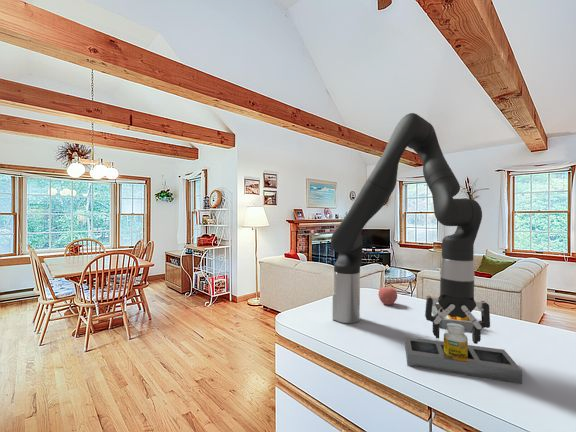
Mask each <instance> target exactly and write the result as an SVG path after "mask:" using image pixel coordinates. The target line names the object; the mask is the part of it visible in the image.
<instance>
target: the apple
mask: <svg viewBox="0 0 576 432" xmlns="http://www.w3.org/2000/svg"><path fill="white" fill-rule="evenodd" d="M378 298H379V301H380V302H381V303H382V304H384V305H386V306H391V305H393V304H395V302H396V301H397V299H398V293H397V291H396V289H395V288H393V287H390V286H388V285H386V286H382V287H381V288H380V289H378Z"/></svg>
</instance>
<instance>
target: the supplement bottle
mask: <svg viewBox="0 0 576 432" xmlns="http://www.w3.org/2000/svg"><path fill="white" fill-rule="evenodd" d="M465 332H466V331H465V328H464V326H462V325H460V324H456V323H448V324H447V329H446V331H444V333H443V342H444V354H445V355H447V356H454V357H461V358H468V345H469V343H468V341H469V339H468V336H467V335H466V334H465Z"/></svg>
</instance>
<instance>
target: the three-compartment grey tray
mask: <svg viewBox="0 0 576 432" xmlns="http://www.w3.org/2000/svg"><path fill="white" fill-rule="evenodd" d="M404 350H405V356H406V364H407V367H408V366H409V367H415V368H420V369H426V370H433V371H439V372H445V373H450V374H452V373H453V374H458V375H465V376H471V377H477V378H482V379H489V380H495V381H499V382H500V381H501V382H506V383H507V382H508V383H512V384H520V385H522V384H523V370H522V369H521V368H520V366H519V365H518V364H517V363H516V361H514V359H513V358H512V357H511V356H510V355H509V354H508V352H507V351H506V350H505V349H502V348H497V347H495V348H494V347H486V346H478V345H472V344H468V358H461V357H454V356H447V355H445V354H444V340H443V341H442V340H435V339H426V338H425V339H424V338H418V337H410V336H405V338H404Z"/></svg>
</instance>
